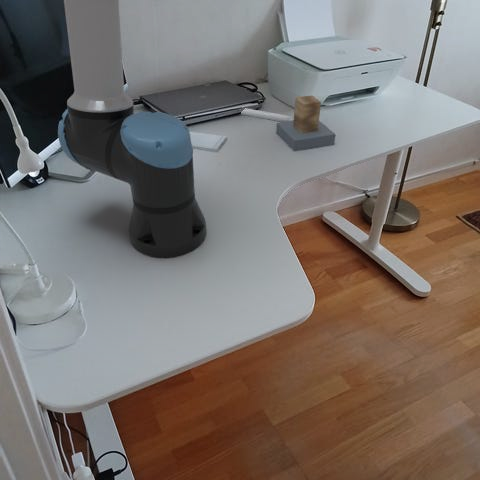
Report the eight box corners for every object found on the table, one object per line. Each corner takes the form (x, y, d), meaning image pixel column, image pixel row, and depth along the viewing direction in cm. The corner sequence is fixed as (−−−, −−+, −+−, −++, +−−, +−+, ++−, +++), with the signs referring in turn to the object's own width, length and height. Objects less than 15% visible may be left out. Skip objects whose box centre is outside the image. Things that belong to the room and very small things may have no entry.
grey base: (293, 151, 119) (294, 140, 117) (276, 132, 128) (276, 122, 126) (334, 144, 122) (335, 134, 120) (314, 127, 131) (315, 117, 129)
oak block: (301, 133, 121) (303, 104, 116) (293, 126, 124) (295, 97, 120) (317, 130, 122) (321, 101, 117) (309, 123, 126) (312, 95, 121)
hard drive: (173, 142, 121) (217, 148, 118) (185, 130, 127) (227, 135, 124) (174, 148, 122) (217, 154, 119) (185, 135, 128) (227, 141, 125)
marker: (294, 122, 134) (295, 115, 133) (292, 125, 133) (292, 117, 132) (240, 112, 140) (240, 105, 139) (237, 115, 139) (237, 107, 138)
